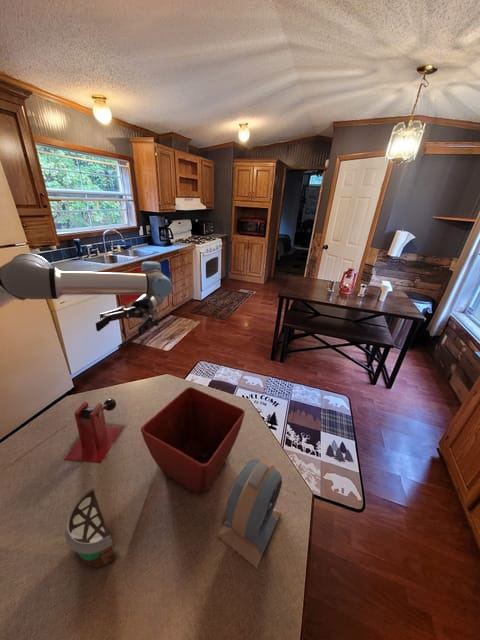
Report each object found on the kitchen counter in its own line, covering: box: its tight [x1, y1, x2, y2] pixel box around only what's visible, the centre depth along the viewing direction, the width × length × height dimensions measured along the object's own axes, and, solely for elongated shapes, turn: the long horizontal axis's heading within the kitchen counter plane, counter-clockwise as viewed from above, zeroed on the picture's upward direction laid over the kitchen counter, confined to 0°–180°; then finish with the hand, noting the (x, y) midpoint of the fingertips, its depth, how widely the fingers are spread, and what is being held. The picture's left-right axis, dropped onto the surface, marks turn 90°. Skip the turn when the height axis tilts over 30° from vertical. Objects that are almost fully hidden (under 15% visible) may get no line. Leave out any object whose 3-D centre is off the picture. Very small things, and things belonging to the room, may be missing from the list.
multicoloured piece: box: [65, 486, 116, 569], centre depth 49 cm, size 12×6×10 cm, turn 42°
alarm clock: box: [217, 458, 283, 569], centre depth 54 cm, size 14×10×18 cm
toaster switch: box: [63, 401, 123, 464], centre depth 70 cm, size 12×10×14 cm
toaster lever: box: [82, 398, 117, 419], centre depth 74 cm, size 14×4×4 cm
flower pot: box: [140, 386, 246, 497], centre depth 67 cm, size 19×19×17 cm
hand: (118, 329), depth 80 cm, fingers open, 13 cm apart
